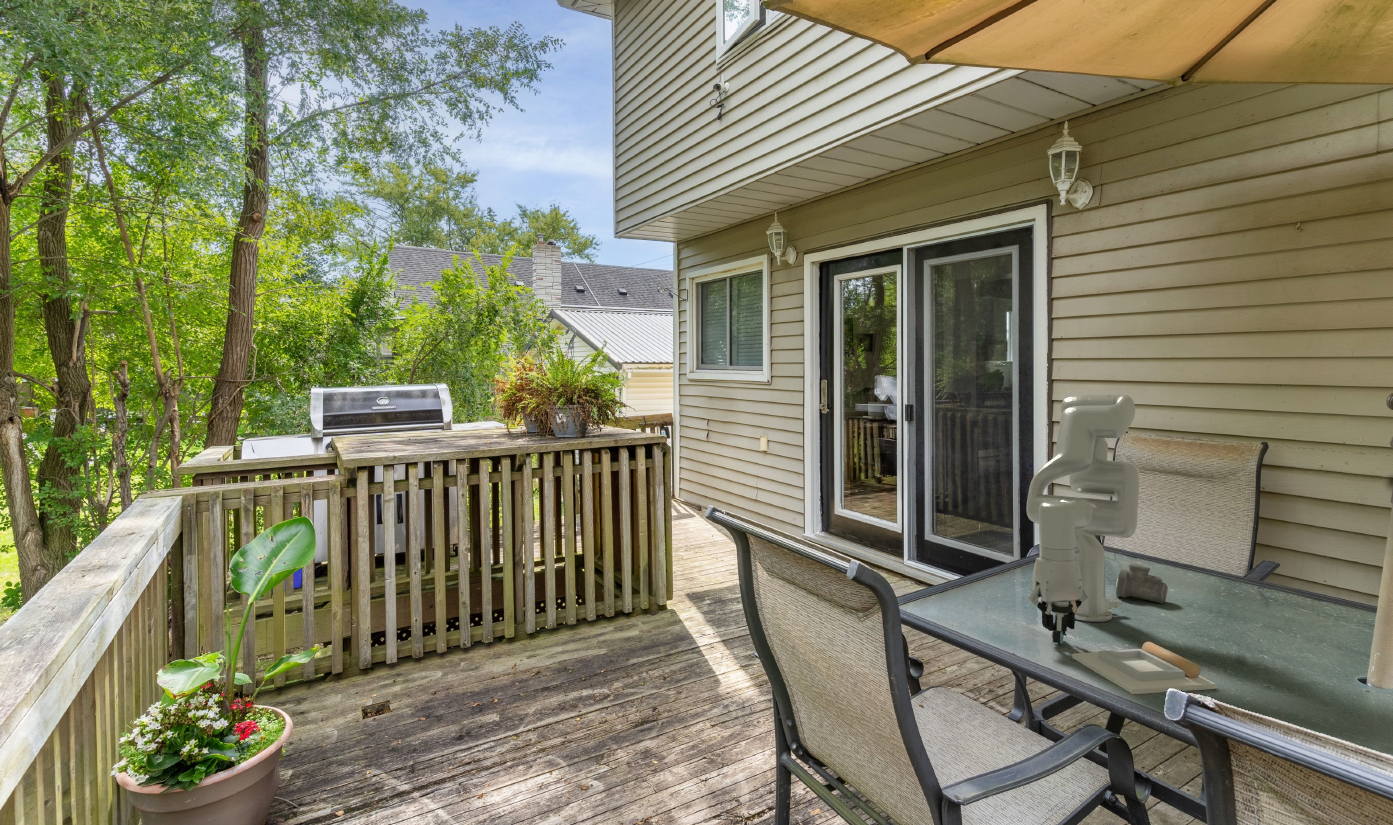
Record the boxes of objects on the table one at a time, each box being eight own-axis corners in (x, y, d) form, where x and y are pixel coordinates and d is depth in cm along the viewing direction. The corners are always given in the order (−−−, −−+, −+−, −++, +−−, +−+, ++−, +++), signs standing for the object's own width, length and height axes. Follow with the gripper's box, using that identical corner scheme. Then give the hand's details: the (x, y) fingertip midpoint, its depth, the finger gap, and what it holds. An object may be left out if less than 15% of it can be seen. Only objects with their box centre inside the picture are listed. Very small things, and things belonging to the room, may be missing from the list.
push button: (1047, 631, 159) (1048, 592, 158) (1072, 636, 156) (1073, 596, 156) (1045, 641, 154) (1046, 601, 153) (1071, 646, 151) (1072, 605, 150)
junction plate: (1146, 653, 148) (1146, 636, 147) (1216, 688, 130) (1215, 669, 130) (1072, 657, 146) (1072, 640, 146) (1132, 694, 128) (1132, 674, 128)
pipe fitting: (1112, 597, 186) (1117, 562, 186) (1117, 593, 192) (1122, 559, 192) (1163, 610, 178) (1168, 574, 178) (1166, 605, 184) (1171, 570, 184)
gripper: (1079, 547, 158) (1080, 619, 159) (1014, 551, 157) (1016, 624, 158) (1101, 555, 151) (1102, 631, 152) (1033, 559, 149) (1034, 636, 150)
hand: (1058, 627), depth 155 cm, fingers closed on push button, 4 cm apart
